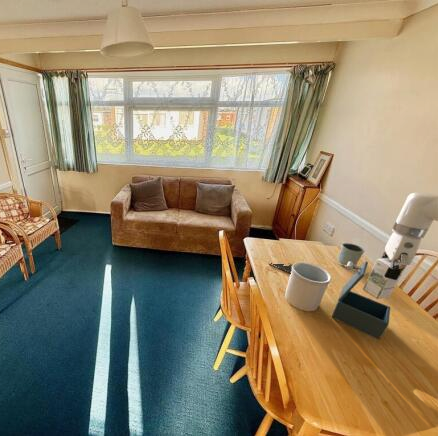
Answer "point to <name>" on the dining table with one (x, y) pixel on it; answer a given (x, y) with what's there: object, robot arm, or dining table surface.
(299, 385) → the dining table surface
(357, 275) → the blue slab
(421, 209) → the robot arm
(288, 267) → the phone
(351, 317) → the chest
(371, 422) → the dining table surface
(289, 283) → the utensil holder
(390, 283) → the syrup box
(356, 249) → the grey-green pot
